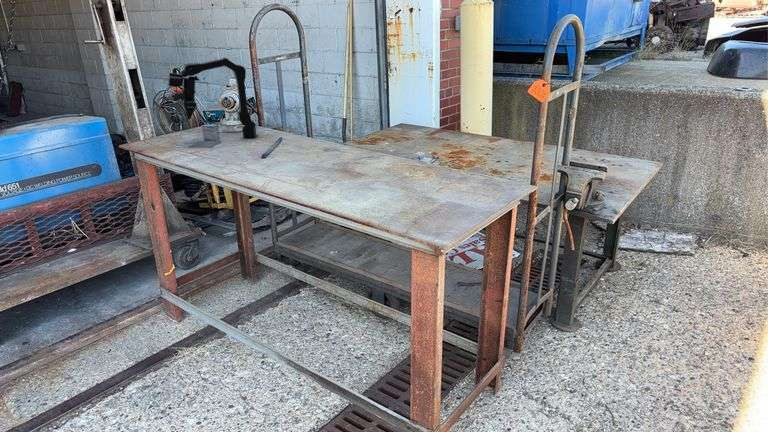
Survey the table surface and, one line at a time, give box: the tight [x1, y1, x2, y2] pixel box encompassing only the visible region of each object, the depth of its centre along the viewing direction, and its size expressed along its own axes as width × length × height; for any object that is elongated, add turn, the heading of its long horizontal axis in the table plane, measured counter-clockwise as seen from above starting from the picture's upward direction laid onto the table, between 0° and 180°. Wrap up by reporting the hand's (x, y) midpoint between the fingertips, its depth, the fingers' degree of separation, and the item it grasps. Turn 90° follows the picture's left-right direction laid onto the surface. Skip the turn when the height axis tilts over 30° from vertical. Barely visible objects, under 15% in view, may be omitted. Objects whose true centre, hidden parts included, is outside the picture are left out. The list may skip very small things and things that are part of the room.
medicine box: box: [201, 124, 221, 141], centre depth 305 cm, size 8×4×9 cm, turn 76°
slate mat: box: [188, 140, 221, 149], centre depth 298 cm, size 13×12×1 cm
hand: (187, 117), depth 294 cm, fingers open, 9 cm apart
